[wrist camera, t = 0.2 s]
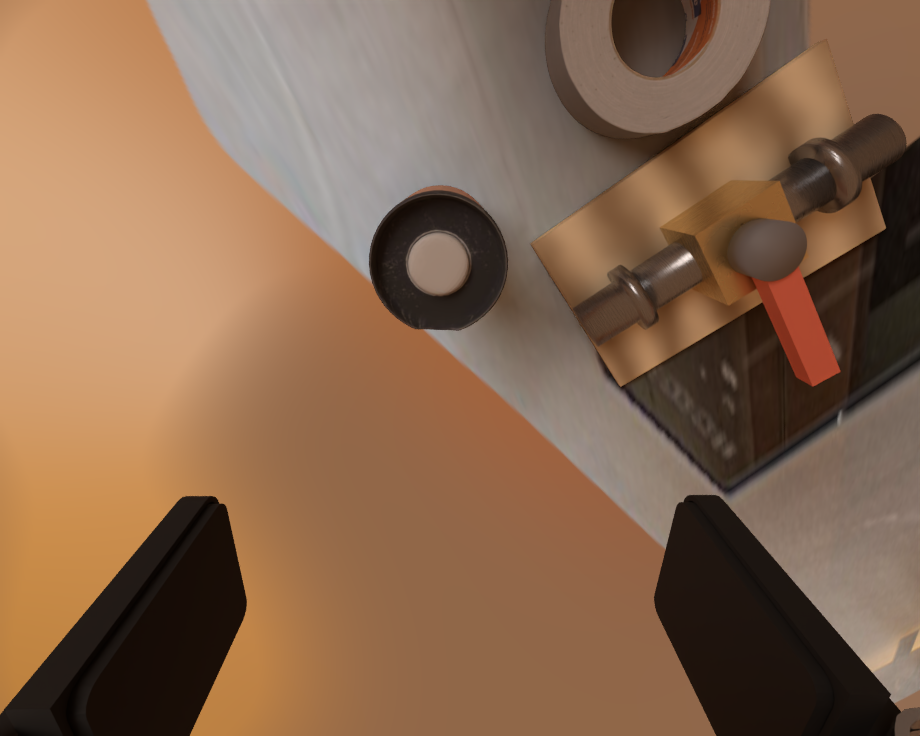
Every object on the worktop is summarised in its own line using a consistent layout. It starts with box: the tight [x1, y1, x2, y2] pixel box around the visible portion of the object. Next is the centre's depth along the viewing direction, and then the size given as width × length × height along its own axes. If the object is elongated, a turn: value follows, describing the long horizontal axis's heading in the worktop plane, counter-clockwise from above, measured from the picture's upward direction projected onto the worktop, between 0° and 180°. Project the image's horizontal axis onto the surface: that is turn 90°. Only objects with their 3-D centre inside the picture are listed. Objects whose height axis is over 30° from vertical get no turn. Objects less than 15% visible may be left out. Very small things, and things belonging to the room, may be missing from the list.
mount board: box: [530, 39, 886, 387], centre depth 43 cm, size 28×18×1 cm, turn 125°
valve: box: [573, 114, 906, 347], centre depth 40 cm, size 28×7×8 cm, turn 125°
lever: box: [727, 218, 841, 386], centre depth 37 cm, size 15×4×3 cm, turn 35°
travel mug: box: [369, 185, 508, 331], centre depth 33 cm, size 8×8×20 cm
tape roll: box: [545, 0, 770, 139], centre depth 35 cm, size 15×15×5 cm
